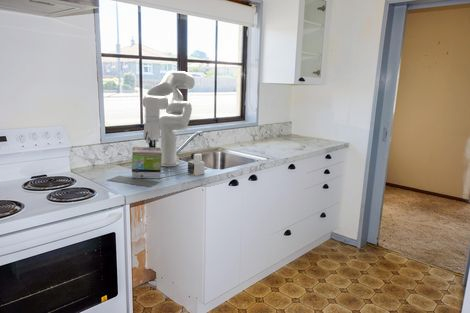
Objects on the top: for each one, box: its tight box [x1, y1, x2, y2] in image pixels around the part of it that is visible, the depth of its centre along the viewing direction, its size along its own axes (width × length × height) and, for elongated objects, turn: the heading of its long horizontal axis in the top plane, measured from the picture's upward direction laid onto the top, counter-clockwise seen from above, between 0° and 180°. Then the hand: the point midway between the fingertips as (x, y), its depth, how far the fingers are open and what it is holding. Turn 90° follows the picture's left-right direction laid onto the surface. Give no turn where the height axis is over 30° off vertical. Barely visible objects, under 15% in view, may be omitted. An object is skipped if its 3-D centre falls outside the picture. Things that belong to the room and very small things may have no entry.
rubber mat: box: [106, 175, 162, 188], centre depth 189 cm, size 10×26×1 cm, turn 70°
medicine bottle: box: [187, 152, 206, 176], centre depth 208 cm, size 7×7×12 cm
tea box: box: [131, 146, 162, 179], centre depth 196 cm, size 15×10×15 cm
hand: (152, 152), depth 202 cm, fingers closed
